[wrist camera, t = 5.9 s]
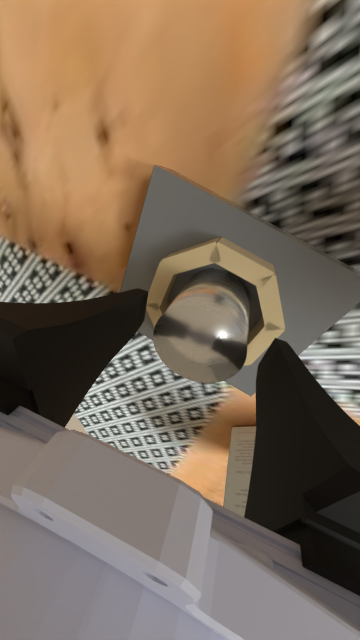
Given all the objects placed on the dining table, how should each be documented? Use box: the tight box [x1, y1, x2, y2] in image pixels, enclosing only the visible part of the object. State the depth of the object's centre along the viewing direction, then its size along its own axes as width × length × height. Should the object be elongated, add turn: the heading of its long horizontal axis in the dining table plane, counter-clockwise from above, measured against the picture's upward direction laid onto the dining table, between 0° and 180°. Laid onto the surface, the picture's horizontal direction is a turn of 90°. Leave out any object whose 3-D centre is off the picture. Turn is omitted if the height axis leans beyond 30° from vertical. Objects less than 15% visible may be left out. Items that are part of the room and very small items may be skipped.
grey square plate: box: [120, 165, 360, 396], centre depth 14 cm, size 13×11×4 cm
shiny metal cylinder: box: [153, 269, 250, 383], centre depth 12 cm, size 4×4×5 cm
